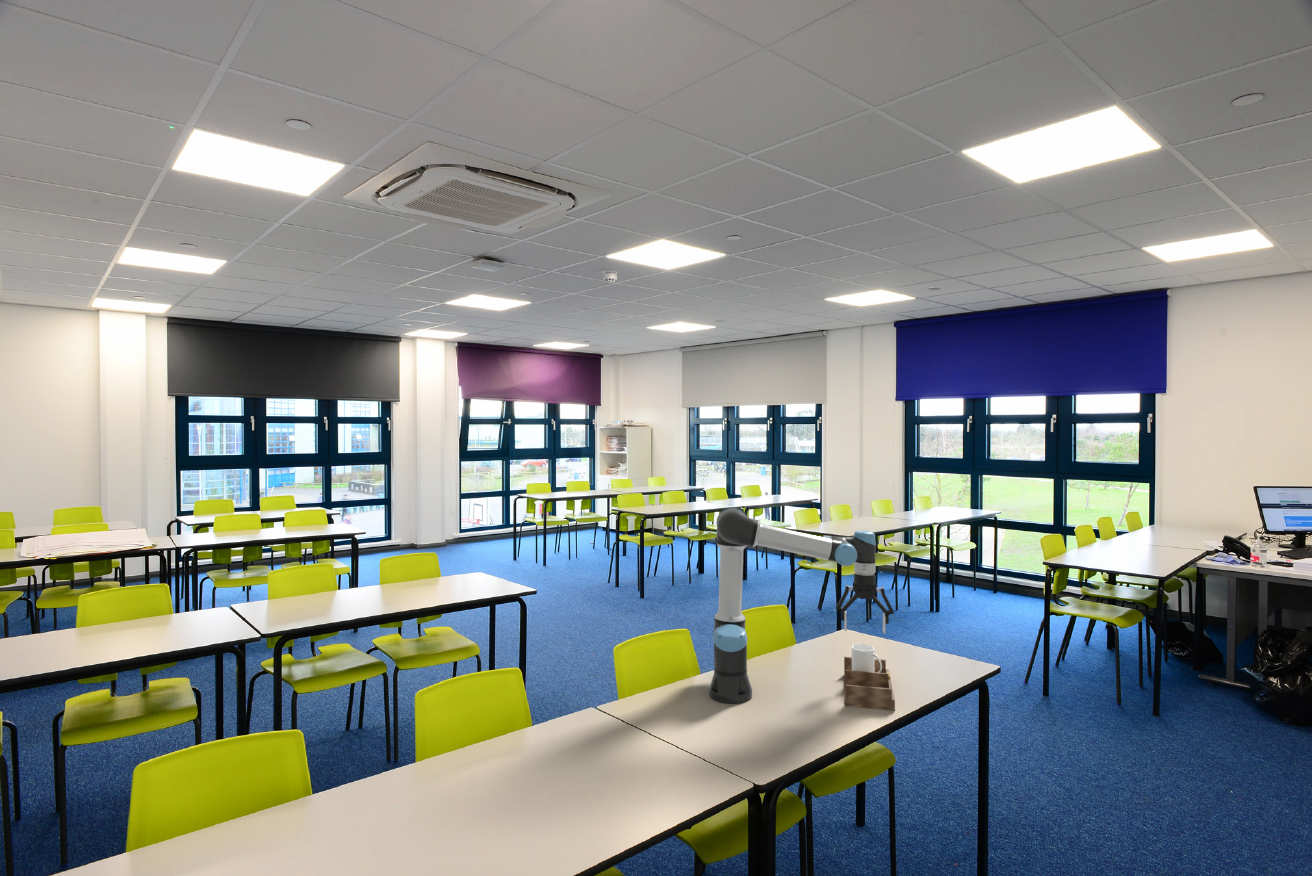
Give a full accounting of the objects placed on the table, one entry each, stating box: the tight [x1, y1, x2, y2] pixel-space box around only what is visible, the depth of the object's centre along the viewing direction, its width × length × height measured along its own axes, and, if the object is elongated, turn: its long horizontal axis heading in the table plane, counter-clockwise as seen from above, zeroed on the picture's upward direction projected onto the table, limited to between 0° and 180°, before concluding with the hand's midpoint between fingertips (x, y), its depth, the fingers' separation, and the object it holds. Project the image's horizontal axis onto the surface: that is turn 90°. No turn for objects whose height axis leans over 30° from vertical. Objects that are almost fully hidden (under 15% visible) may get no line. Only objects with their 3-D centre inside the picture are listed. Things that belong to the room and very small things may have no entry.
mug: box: [851, 643, 882, 673], centre depth 245 cm, size 12×8×12 cm
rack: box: [843, 656, 896, 711], centre depth 238 cm, size 16×30×7 cm, turn 165°
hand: (864, 631), depth 245 cm, fingers open, 13 cm apart
